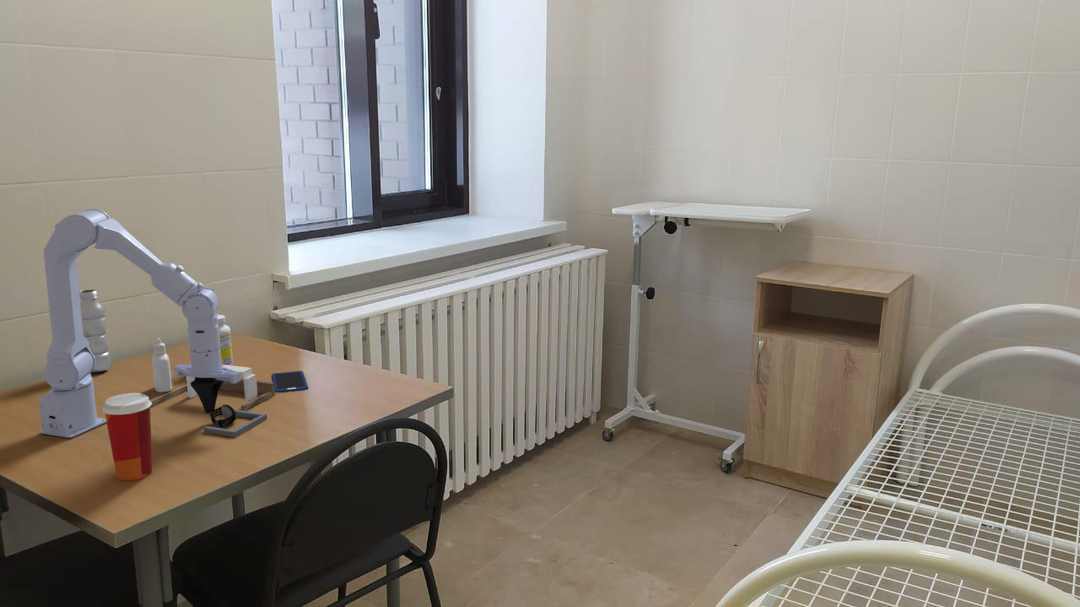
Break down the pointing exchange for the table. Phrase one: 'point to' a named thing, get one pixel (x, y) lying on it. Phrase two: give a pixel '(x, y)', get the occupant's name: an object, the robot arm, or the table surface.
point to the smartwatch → (225, 412)
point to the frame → (233, 433)
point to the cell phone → (289, 381)
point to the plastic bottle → (95, 328)
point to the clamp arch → (245, 373)
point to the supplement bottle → (225, 341)
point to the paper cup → (130, 434)
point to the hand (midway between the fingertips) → (210, 411)
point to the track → (262, 389)
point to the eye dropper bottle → (161, 368)
